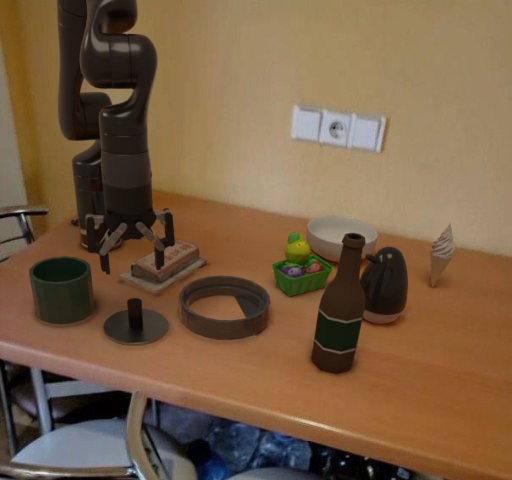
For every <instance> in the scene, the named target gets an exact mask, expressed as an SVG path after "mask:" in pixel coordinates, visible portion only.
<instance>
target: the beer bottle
mask: <svg viewBox="0 0 512 480" xmlns="http://www.w3.org/2000/svg"><path fill="white" fill-rule="evenodd" d="M342 243H343V247H342V251H341V256H340V260H339V263H337V269H336V273H335V276H334V278H333V279H332V280H331V281H330V282H329V283H328V284H327V286H326V287H325V290H324V291H323V293H322V296H321V298H320V301H319V302H320V303H319V305H318V311H317V318H316V323H315V329H314V336H313V343H312V349H311V350H312V351H311V362H312V363H313V364H314V366H316V367H317V368H318V369H319V370H320V371H323V372H327V373H330V374H335V375H338V374H341V373H345V372H348V371H351V369H352V367H353V362H354V359H355V357H356V353H357V348H358V342H359V338H360V332H361V330H362V329H361V328H362V324H363V319H364V318H363V314H364V309H365V301H366V298H365V293H364V290H363V288H362V286H361V284H360V277H361V267H362V259H361V258H362V250H363V247H364V246H365V243H366V241H365V237H364V236H362V235H361V234H357V233H347V234H345V236H344V238H343V240H342Z"/></svg>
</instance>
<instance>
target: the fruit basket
mask: <svg viewBox="0 0 512 480" xmlns="http://www.w3.org/2000/svg"><path fill="white" fill-rule="evenodd" d="M286 241H287V242H286V246H285V248H284V256H285V259H284V260H280V261H277V262H273V263H271V268H272V270H273V274H274V278H275V283H276V284H275V285H276V287H277V288H280V290H281V291H282V292H284V293H285V294H287V295H288V296H289V297H293V296H296V295H300V294H304V293H307V292H311V291H315V290H319V289H323V288H324V286H325V285H326V282H327V281H328V279H329V276H330V274H331V273H332V272H333V269H334V267H333V265H331V264H329V263H328V262H327V261H325V260H323V259H322V258H321V257H319V256H318V255H317V254H312V253H311V252H312V251H311V250H312V249H311V247H310V246H309V244H308V242H307V240H305V238H304V236H303V235H302V234H300V233H298V232H296V231H293V232H292V233H289V235H288V237H287V240H286Z"/></svg>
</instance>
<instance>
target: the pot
mask: <svg viewBox="0 0 512 480" xmlns="http://www.w3.org/2000/svg"><path fill="white" fill-rule="evenodd" d="M28 276H29V282H30V287H31V294H32V299H33V304H34V310H35V311H34V312H35V315H36V316H37V318H38V319H39V320H41V321H42V322H45V323H47V324H50V325H51V324H52V325H60V326H61V325H70V324H75V323H79V322H81V321H84V320H86V319H87V318H89V317H90V316H92V315H93V313H94V312H95V310H96V303H95V295H94V287H93V286H94V285H93V278H92V268H91V264H90V263H89V262H88V261H87V260H85V259H82V258H79V257H76V256H67V255H65V256H64V255H62V256H52V257H47V258H44V259H41V260H39V261H38V262H35V263H34V264H33V265H32V266H31V267H30V268H29V269H28Z"/></svg>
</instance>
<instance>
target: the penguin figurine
mask: <svg viewBox="0 0 512 480" xmlns="http://www.w3.org/2000/svg"><path fill="white" fill-rule="evenodd" d="M364 259H365V260H367V261H368V262H367V263H366V266H365V268H364V269H363V271H362V273H361V274H360V284H361V286H362V288H363V290H364V293H365V298H366V301H365V309H364V314H363V319H365V320H366V321H368V322H371V323H373V324H382V325H383V324H388V323H389V324H390V323H392V322H393V321H395V320H396V319H398V318H399V316H401V314H402V313H403V312H404V310H405V309H406V307H407V304H408V298H409V296H408V295H409V274H408V273H409V272H408V267H407V262H406V259H405V256H404V254H403V252H402V250H400V249H399V248H397V247H395V246H391V245H388V246H387V245H385V246H383V247H380V248H379V249H378V250H377V251H375V252H374V254H366V256H365V258H364Z"/></svg>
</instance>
